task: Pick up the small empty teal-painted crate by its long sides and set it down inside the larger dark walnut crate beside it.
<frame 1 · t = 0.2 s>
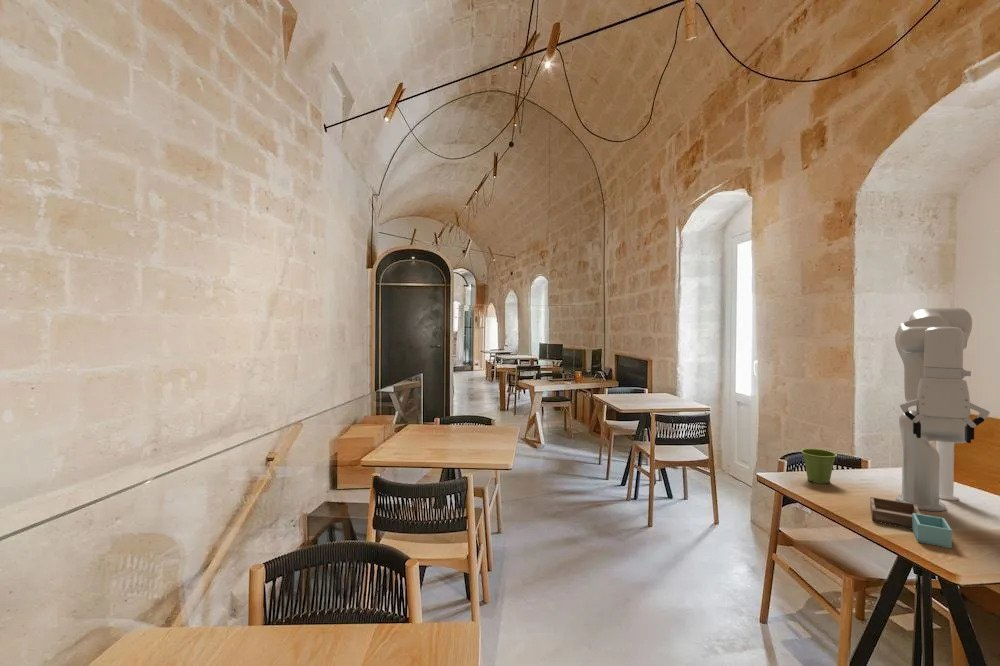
hand: (942, 439, 126), 30 cm above the table, tool pointing down, fingers open, 9 cm apart
walnut crate: (894, 518, 151), on the table
teal crate: (931, 538, 136), on the table
plant pot: (818, 481, 188), on the table
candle: (944, 497, 170), on the table
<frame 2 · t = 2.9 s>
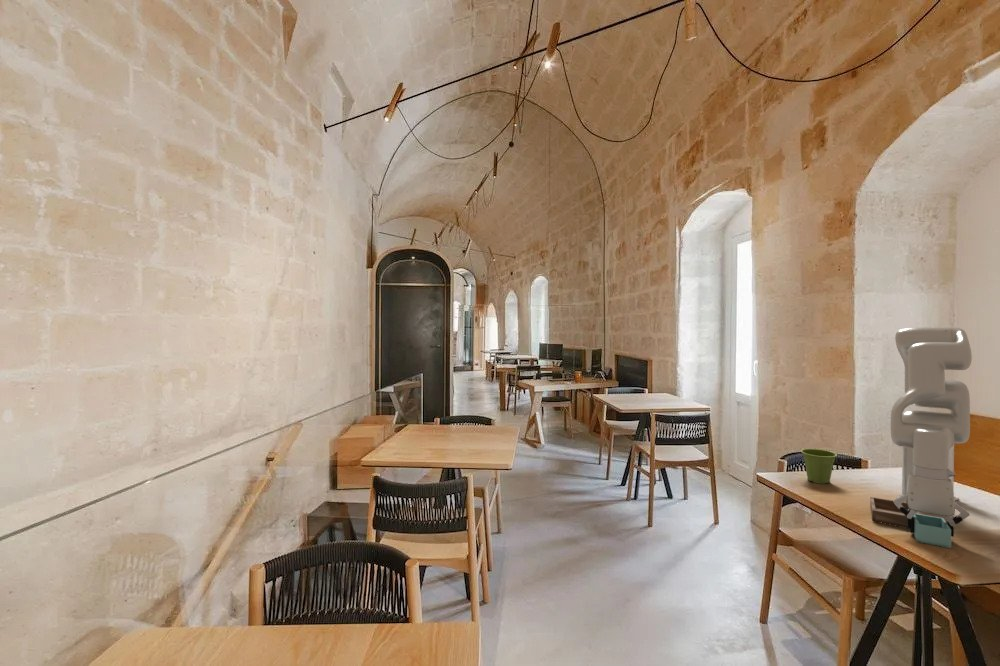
hand: (929, 534, 137), 1 cm above the table, tool pointing down, fingers closed on teal crate, 7 cm apart
teal crate: (930, 538, 136), on the table, touching gripper
everything else where it was.
when the fingers open (5 cm above the table, at t = 8.5 s): teal crate drops 4 cm, resting on walnut crate.
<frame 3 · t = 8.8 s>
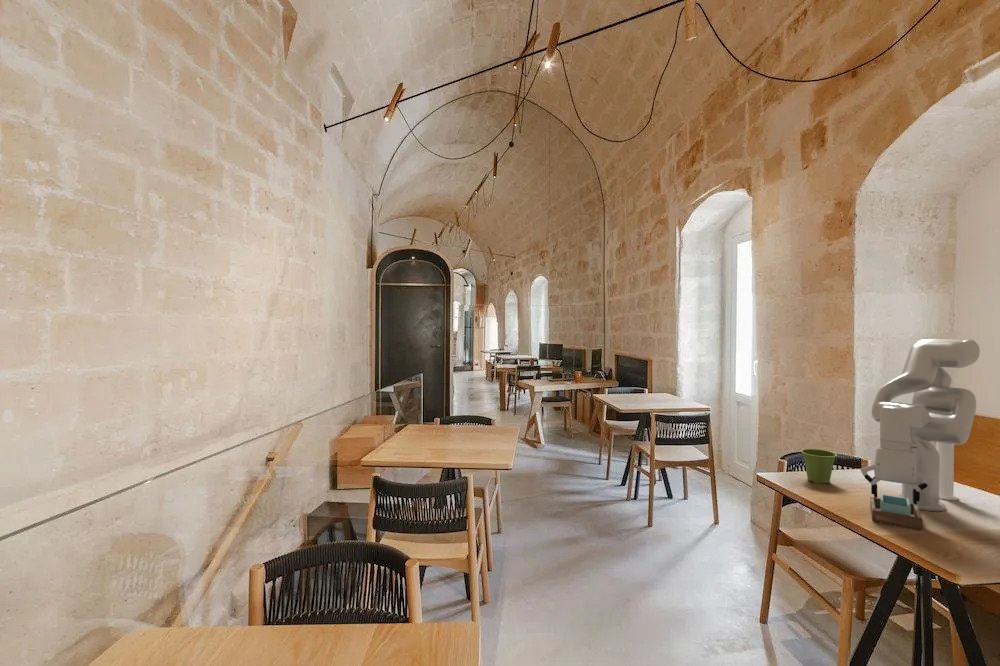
hand: (894, 499, 151), 6 cm above the table, tool pointing down, fingers open, 9 cm apart
teal crate: (894, 516, 150), point 1 cm above the table, touching walnut crate
everything else where it was.
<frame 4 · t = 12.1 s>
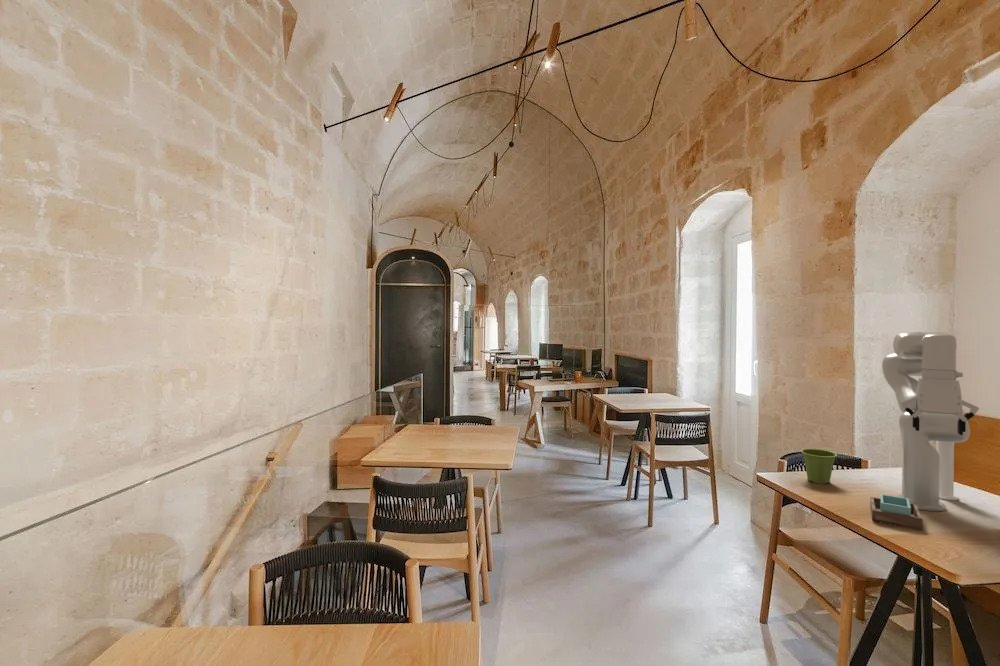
hand: (938, 432, 145), 28 cm above the table, tool pointing down, fingers open, 9 cm apart
nothing on the table moved.
at the end: teal crate 1.0 cm off-centre on the walnut crate, point 0.8 cm above the walnut crate's base; teal crate tilted 0°; the gripper is holding nothing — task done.
